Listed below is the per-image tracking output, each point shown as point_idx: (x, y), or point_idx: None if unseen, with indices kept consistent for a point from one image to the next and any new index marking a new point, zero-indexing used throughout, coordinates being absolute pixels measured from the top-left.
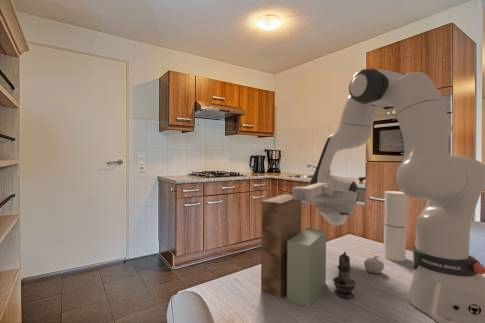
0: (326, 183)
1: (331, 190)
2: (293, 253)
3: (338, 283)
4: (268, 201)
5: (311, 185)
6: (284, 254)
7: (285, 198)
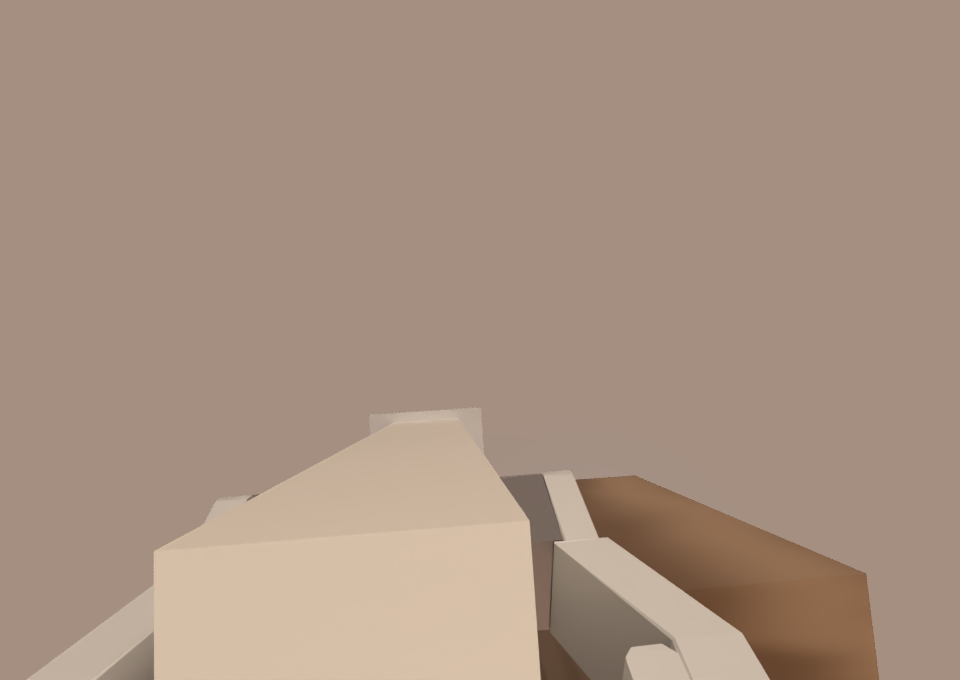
0: (203, 525)
1: (84, 673)
2: None
3: None
4: (598, 479)
5: (445, 436)
6: None
7: (607, 515)
